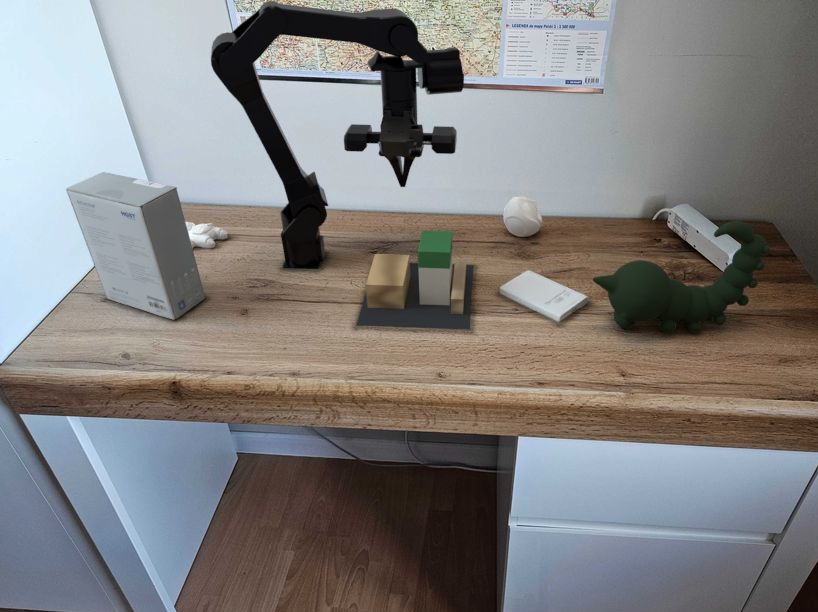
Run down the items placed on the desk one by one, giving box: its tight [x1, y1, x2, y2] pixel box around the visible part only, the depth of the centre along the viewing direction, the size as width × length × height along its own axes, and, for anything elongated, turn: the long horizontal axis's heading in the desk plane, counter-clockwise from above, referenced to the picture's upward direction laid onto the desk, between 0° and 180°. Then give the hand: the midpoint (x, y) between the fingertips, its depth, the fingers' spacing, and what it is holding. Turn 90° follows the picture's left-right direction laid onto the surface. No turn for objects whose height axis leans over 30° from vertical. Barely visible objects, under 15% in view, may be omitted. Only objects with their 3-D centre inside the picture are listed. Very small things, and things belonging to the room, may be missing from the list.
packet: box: [417, 230, 454, 305], centre depth 110 cm, size 9×7×11 cm
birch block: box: [365, 253, 411, 309], centre depth 112 cm, size 6×10×4 cm, turn 177°
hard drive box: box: [65, 171, 206, 321], centre depth 106 cm, size 16×8×20 cm, turn 65°
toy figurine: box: [592, 220, 771, 334], centre depth 101 cm, size 9×19×25 cm
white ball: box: [502, 195, 544, 238], centre depth 128 cm, size 8×8×8 cm
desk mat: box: [355, 262, 474, 331], centre depth 113 cm, size 18×20×1 cm
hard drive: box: [498, 269, 589, 323], centre depth 112 cm, size 2×8×12 cm
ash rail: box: [451, 260, 467, 315], centre depth 112 cm, size 2×12×3 cm, turn 177°
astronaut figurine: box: [185, 221, 229, 250], centre depth 128 cm, size 9×12×3 cm
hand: (403, 186), depth 119 cm, fingers closed
